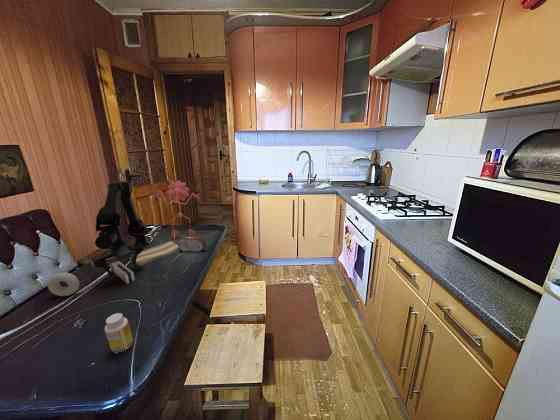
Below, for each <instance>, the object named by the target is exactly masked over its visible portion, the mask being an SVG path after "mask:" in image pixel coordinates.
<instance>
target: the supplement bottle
mask: <svg viewBox="0 0 560 420" xmlns="http://www.w3.org/2000/svg"><path fill="white" fill-rule="evenodd" d="M105 324H106V325H105V326H104V333H105V336H106V339H107V342H108V344H109V349H110V351H111V352H112V353H113V352H114V354H119V353H118V352H121V353H123V352H125V351H127V350H128V349H129V348H130V347H132V345H133V342H134V339H133V338H134V337H133V335H132V334H133V333H132V330H131V326H130V324H129V321H128V318H126V317H124V316H123V313H121V312H116V313H113V314H112V315H110V316H108V317H107V318H106V320H105ZM126 349H127V350H126ZM124 350H125V351H124ZM122 351H123V352H122Z"/></svg>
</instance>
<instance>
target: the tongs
mask: <svg viewBox="0 0 560 420" xmlns="http://www.w3.org/2000/svg"><path fill="white" fill-rule="evenodd" d="M109 268H110V269H111V270H110V271H112V272H113V273H114V274H115V275H116V276H117V277H119V279H121V280H122V281H123V282H124V283H125V284H130V280H131V282H134V281H136V279H135V274H134V271H133V270H132V269H130V268H129V267H127V266H126V265H125V264H123V263H122V261H118V260H116V261H113V262H111V263H109Z"/></svg>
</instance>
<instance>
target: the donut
mask: <svg viewBox="0 0 560 420" xmlns="http://www.w3.org/2000/svg"><path fill="white" fill-rule="evenodd" d="M60 282H64V283H66V284H67V286H62V285H61V284H60ZM79 287H80V280H79V278H78V277H77V275H75V274H73V273H69V272H57V273H55V274H54V275H52V276H51V277H50V278H49V279H48V281H47V289H48V290H49V292H51V293H52V294H53V295H55V296H59V297H67V296H71V295H73V294H75V293H76V292H77V291H78V290H79Z"/></svg>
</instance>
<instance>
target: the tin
mask: <svg viewBox="0 0 560 420" xmlns="http://www.w3.org/2000/svg"><path fill="white" fill-rule="evenodd" d="M176 244H178V247H179V249H181V250H180V251H182V252H188V253H189V252H192V253H193V252H194V253H196V252H197V253H200V252H202V251H204V249H205V248H206V246H207V242H206V240H205V239H204V237H201V236H198V235H196V236H195V235H191V236H190V235H183V236H181V237H180V238H179V239H178V240H177V243H176Z"/></svg>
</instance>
